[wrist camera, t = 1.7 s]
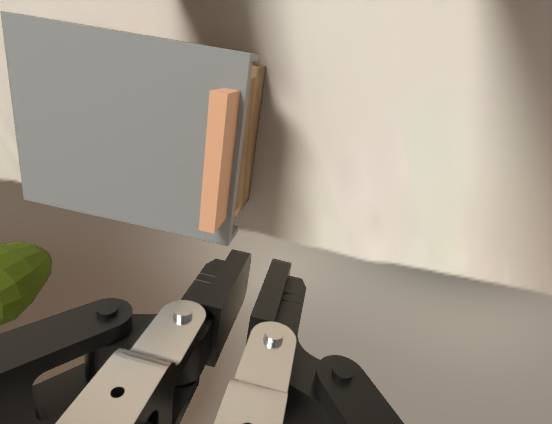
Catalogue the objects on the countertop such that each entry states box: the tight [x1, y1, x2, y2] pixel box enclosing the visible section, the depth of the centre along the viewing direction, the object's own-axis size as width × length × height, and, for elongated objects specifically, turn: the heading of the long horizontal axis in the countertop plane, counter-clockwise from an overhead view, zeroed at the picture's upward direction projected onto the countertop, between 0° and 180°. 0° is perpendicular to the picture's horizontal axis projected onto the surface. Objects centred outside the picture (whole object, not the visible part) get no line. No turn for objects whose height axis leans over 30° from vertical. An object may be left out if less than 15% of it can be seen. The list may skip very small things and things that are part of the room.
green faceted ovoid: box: [0, 242, 52, 325], centre depth 41 cm, size 9×8×12 cm
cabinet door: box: [1, 11, 260, 246], centre depth 29 cm, size 19×15×6 cm
